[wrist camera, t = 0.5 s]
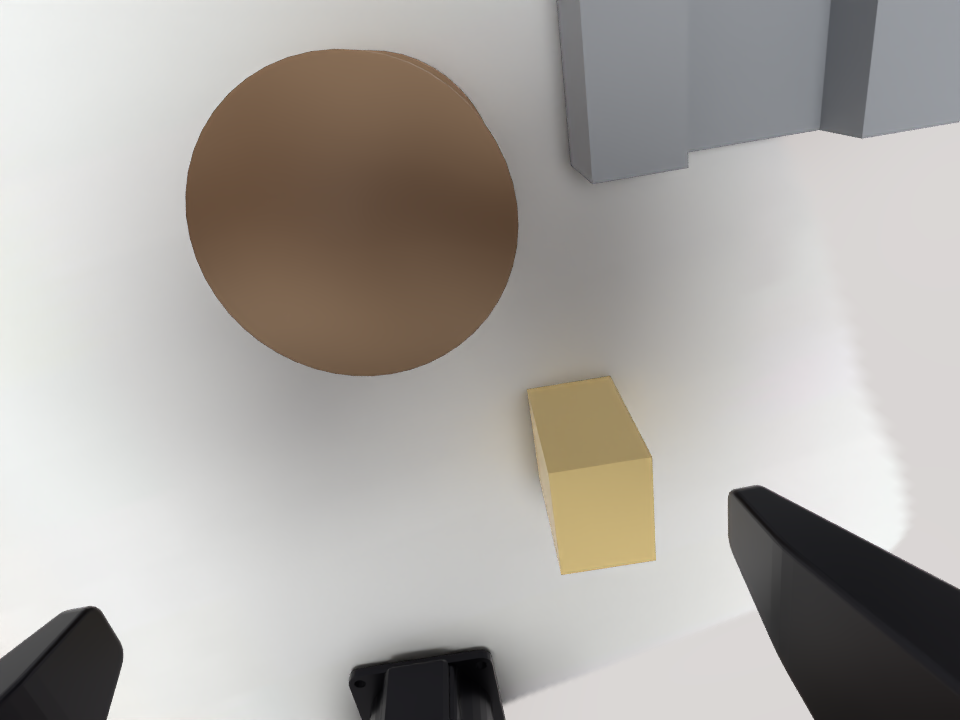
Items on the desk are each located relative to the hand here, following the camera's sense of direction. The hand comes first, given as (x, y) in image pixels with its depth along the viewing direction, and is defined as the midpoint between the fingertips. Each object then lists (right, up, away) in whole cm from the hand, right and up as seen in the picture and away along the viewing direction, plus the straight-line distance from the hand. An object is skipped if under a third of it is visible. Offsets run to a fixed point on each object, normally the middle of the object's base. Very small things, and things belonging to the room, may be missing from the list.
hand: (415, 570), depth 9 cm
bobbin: (-2, +8, +10) cm, 13 cm away
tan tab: (+4, 0, +14) cm, 15 cm away
